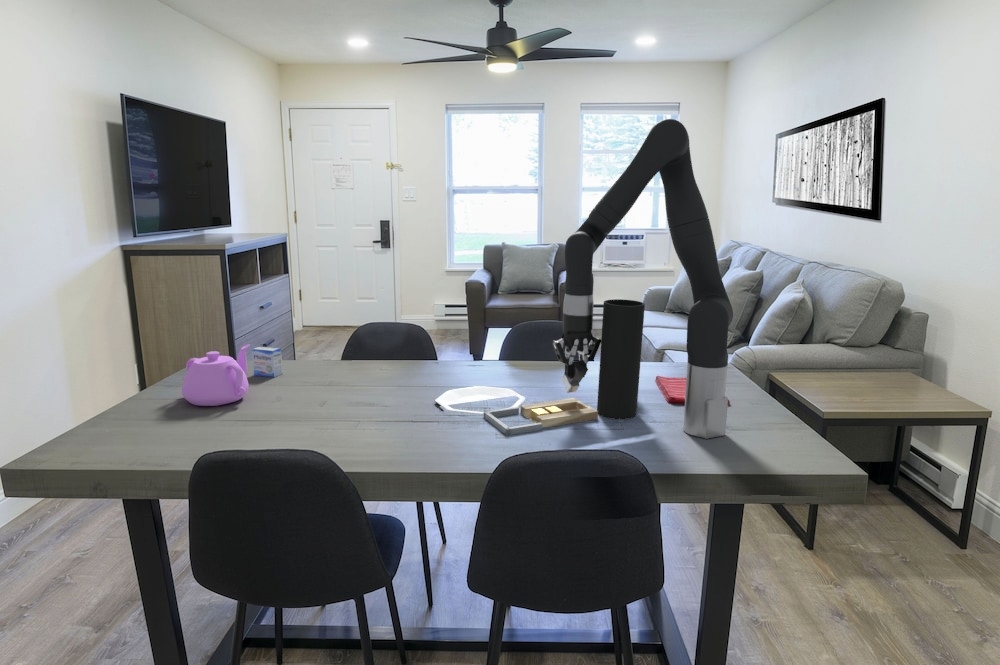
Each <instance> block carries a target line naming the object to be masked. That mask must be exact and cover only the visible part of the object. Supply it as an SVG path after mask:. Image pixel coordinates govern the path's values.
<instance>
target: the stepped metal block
mask: <svg viewBox="0 0 1000 665" xmlns="http://www.w3.org/2000/svg"><path fill="white" fill-rule="evenodd" d="M572 365H573V377H572V379H569V378H567V377H566V376H565V372H564V373H563V375H562V376H561V378H560V379H561V381H562V384H563V386H564V389H565V390H566V393H567V394H569V393H576V392H577V390H578V389H579V387H580V382H581V381H582V380H583V378H585V377H584V375H585V374H586V375H587V372H588V371H589V369H588V366H586V364H585V362H584V360H573V364H572ZM586 375H585V376H586Z"/></svg>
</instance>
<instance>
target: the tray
mask: <svg viewBox="0 0 1000 665" xmlns="http://www.w3.org/2000/svg"><path fill="white" fill-rule="evenodd" d="M483 412H484V414H483V418H484V419H485V420H487V421H488V422H489V423H490V424H492V425H493V426H494V427H496V428H497V429H498V430H499V431H501V432H502V433H503V434H504V435H506V436H510V435H511V436H512V435H517V434H518V435H519V434H522V433H523V434H524V433H528V432H529V433H530V432H536V431H541V430H543V428H542V423H534V422H533V423H529V424H528V423H527V424H523V425H516V426H508V425H507V424H505V423H504V422H502V421H501V420H500V419H498V418H497V417H504V416H511V415H516V414H519V413H520V409H519V407H513V408H510V407H507V408H506V409H505V408H500V410H499V409H494V410H487V411H483Z"/></svg>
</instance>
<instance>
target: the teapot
mask: <svg viewBox="0 0 1000 665" xmlns="http://www.w3.org/2000/svg"><path fill="white" fill-rule="evenodd" d="M250 346H251V344H250V343H248V344H245V345H243V346H242V347H240V349H239V352H238V355H237V361H236V360H235V359H234V358H233V357H232V356H229V355H220V351H215V350H214V351H213V350H212V351H208V352H205V355H206V356H204V357H199V358H197V357H191V358H189V359H188V360H187V361H186V364H185V366H186V373H185V375H184V378H183V382H182V386H181V395H182V397H183V398H184V399H185V400H186V401H187V402H189V403H190V404H192V405H194V406H201V407H208V406H209V407H218V406H222V405H227V404H231V403H235V402H237V401H239V400H241V399H242V398H244V397H245V395H246V394H247V392H248V391H249V388H250V386H249V381H248V380H249V379H248V378H247V374H248V361H247V351H248V348H249V347H250Z"/></svg>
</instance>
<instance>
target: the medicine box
mask: <svg viewBox="0 0 1000 665" xmlns="http://www.w3.org/2000/svg"><path fill="white" fill-rule="evenodd" d="M251 352H252V354H251V356H252V366H253V367H252V368H253V371H252V372H253V375H254V376H256V377H266V378H267V377H268V378H277V377H279V376H280V375H283V362H282V361H283V360H282V358H283V357H282V349H281V348H279V347H269V346H268V347H266V346H258V347H255V348H253V349H252V350H251Z"/></svg>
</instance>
